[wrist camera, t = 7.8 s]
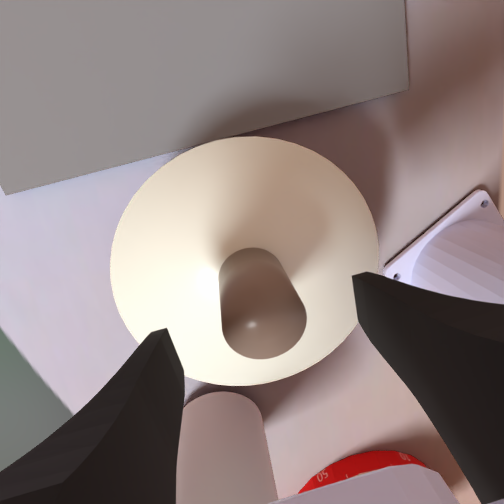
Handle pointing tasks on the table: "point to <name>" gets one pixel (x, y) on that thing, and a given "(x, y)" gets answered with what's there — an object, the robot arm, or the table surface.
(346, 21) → the mat
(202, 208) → the lid
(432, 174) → the table surface
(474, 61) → the table surface
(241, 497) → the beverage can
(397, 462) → the kitchen timer
